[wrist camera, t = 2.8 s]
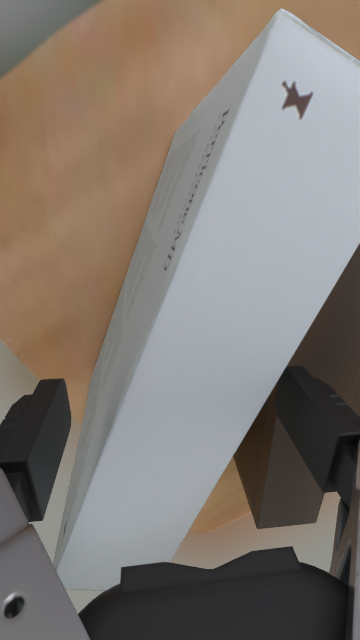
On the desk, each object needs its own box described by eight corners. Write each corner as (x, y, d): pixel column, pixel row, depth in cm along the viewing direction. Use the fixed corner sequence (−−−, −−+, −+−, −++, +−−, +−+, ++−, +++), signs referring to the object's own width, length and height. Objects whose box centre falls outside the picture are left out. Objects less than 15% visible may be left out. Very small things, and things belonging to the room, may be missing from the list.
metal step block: (430, 175, 23) (584, 169, 15) (351, 433, 34) (417, 512, 26) (254, 173, 22) (319, 165, 14) (228, 443, 32) (257, 529, 24)
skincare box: (147, 392, 29) (151, 601, 14) (90, 377, 27) (30, 591, 13) (247, 160, 22) (456, 108, 7) (177, 125, 20) (257, -25, 6)
